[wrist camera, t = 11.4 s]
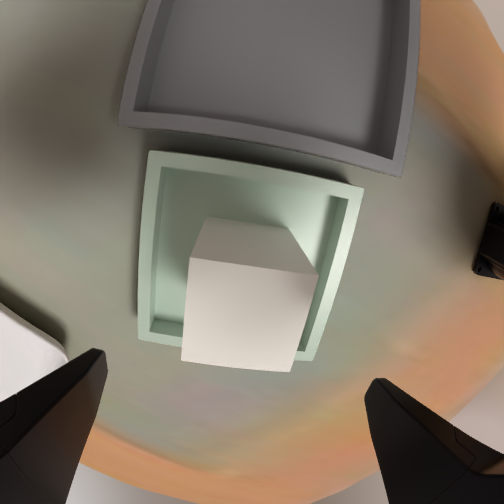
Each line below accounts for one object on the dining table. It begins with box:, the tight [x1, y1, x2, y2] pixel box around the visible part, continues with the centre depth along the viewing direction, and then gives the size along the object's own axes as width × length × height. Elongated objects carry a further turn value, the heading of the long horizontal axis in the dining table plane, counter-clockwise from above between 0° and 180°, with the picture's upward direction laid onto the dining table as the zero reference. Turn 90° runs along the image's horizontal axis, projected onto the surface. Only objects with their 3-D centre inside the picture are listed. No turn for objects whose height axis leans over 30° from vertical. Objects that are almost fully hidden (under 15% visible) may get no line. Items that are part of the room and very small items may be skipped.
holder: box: [138, 150, 364, 361], centre depth 18 cm, size 12×12×2 cm
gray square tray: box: [117, 0, 420, 178], centre depth 13 cm, size 16×16×3 cm
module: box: [181, 216, 319, 372], centre depth 15 cm, size 5×5×7 cm
